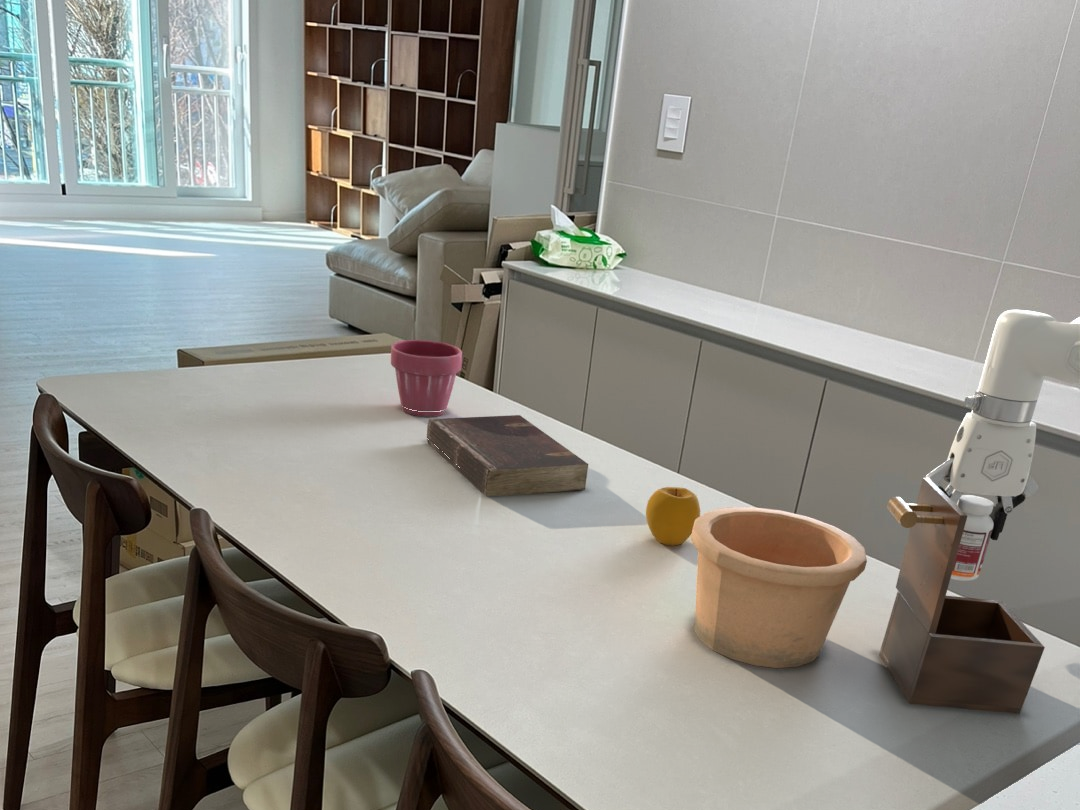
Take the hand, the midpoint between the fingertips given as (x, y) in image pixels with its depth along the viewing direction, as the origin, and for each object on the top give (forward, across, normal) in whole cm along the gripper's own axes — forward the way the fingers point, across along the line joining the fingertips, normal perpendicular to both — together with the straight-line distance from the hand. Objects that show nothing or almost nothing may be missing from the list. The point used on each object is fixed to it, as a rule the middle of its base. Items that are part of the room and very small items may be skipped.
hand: (967, 533), depth 149 cm
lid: (-5, -14, -23) cm, 27 cm away
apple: (+11, -39, +17) cm, 44 cm away
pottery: (+12, -31, -15) cm, 36 cm away
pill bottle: (+6, 0, 0) cm, 6 cm away
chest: (+12, -8, -23) cm, 27 cm away
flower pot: (+10, -83, +77) cm, 114 cm away
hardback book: (+11, -66, +46) cm, 81 cm away
